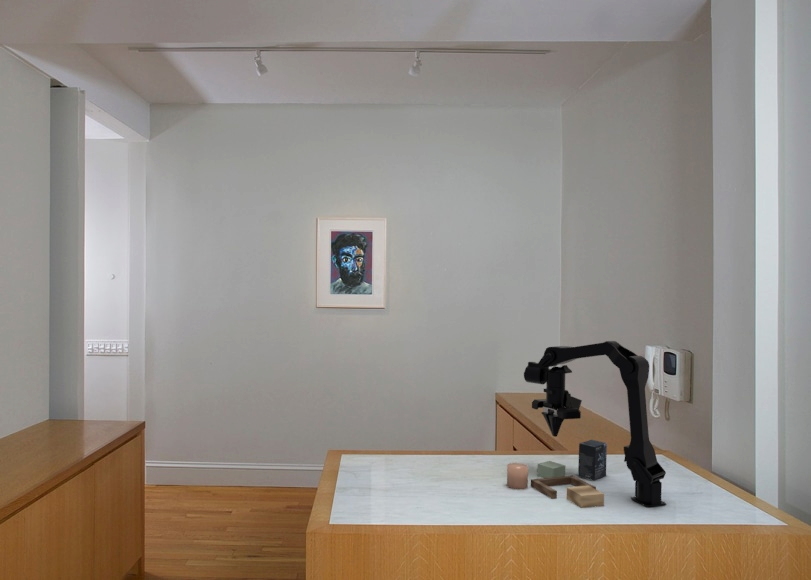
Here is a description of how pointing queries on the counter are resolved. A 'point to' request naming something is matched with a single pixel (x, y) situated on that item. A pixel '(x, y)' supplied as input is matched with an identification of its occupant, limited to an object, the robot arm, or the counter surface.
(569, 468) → the counter surface
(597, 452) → the box
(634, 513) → the counter surface
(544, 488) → the walnut bay
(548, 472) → the matte sage squarish block
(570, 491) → the oak block
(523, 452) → the counter surface
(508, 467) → the tan round cylinder
